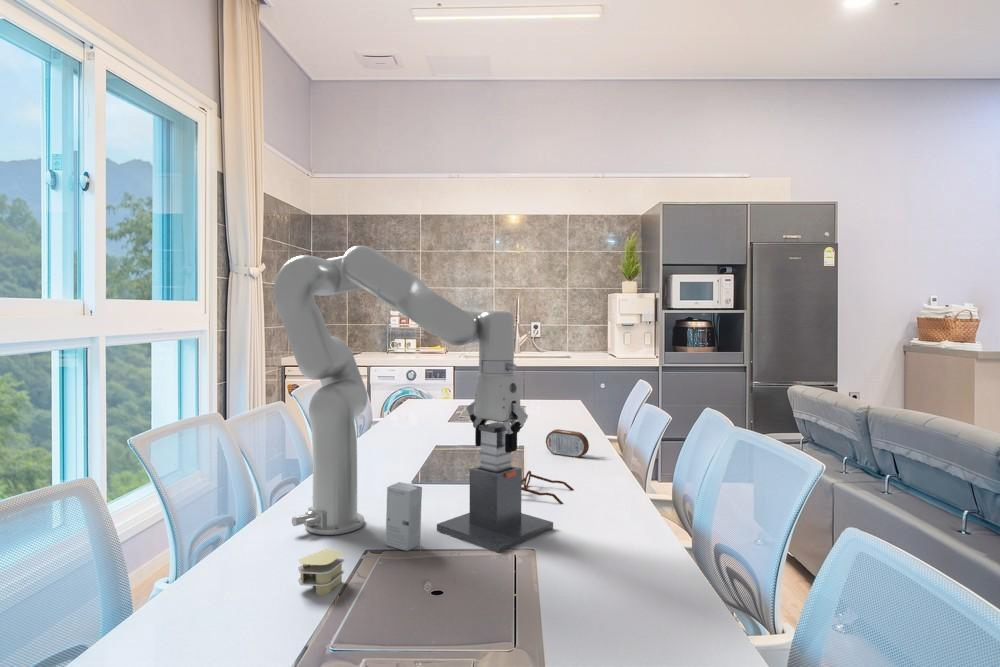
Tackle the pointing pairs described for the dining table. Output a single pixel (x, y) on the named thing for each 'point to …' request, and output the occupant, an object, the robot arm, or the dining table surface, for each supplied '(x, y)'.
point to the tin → (567, 443)
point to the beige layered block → (321, 570)
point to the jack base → (495, 513)
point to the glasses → (544, 480)
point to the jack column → (494, 448)
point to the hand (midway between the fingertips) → (495, 448)
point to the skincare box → (403, 516)
